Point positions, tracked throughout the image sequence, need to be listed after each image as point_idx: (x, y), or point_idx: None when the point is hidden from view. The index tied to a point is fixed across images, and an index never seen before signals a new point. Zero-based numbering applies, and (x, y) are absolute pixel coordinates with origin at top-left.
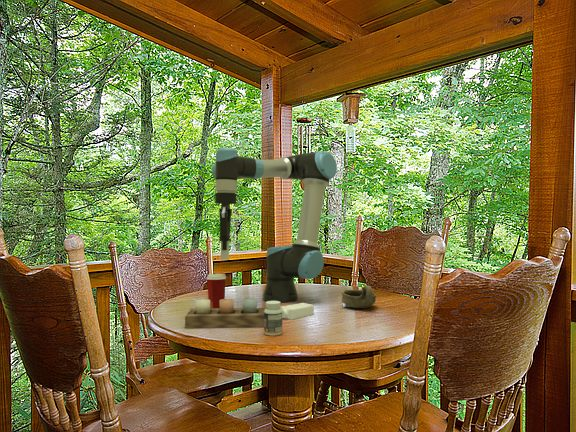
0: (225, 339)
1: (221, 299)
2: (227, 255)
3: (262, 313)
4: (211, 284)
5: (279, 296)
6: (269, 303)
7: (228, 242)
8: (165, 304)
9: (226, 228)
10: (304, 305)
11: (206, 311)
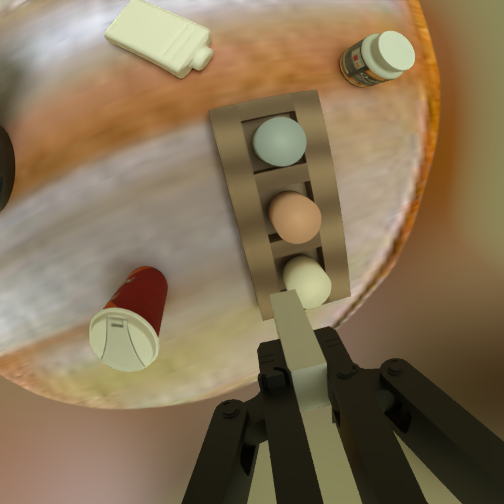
0: (411, 165)
1: (289, 241)
2: (301, 306)
3: (295, 98)
4: (158, 335)
5: (3, 155)
6: (413, 60)
7: (322, 357)
8: (131, 405)
9: (465, 415)
10: (147, 13)
11: (316, 262)
